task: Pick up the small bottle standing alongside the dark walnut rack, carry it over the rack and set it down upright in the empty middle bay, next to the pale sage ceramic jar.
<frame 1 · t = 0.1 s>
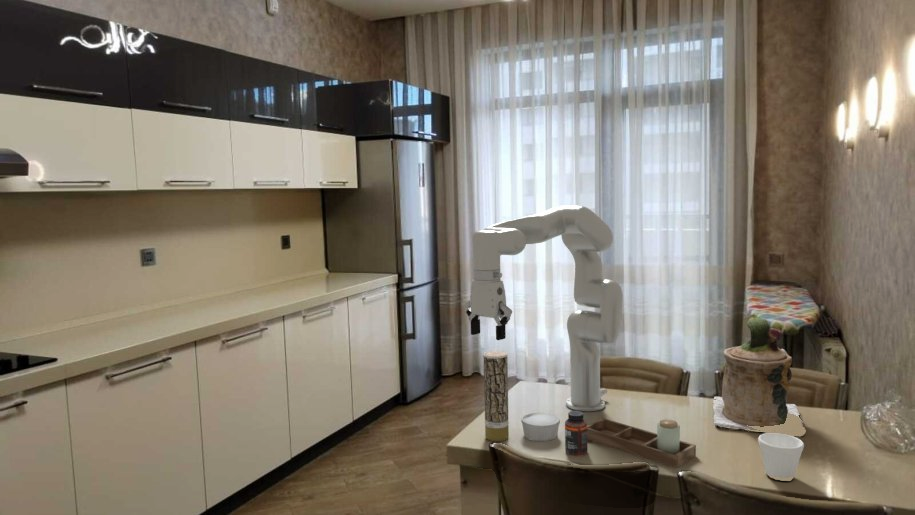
hand: (488, 336, 177), 31 cm above the table, tool pointing down, fingers open, 9 cm apart
supplement bottle: (576, 454, 174), on the table
rack: (637, 448, 176), on the table
sage jar: (668, 456, 169), point 1 cm above the table, touching rack
bark-patterned cylinder: (497, 438, 186), on the table
ramekin: (540, 436, 187), on the table
cup: (779, 477, 157), on the table
cookie jar: (756, 420, 195), on the table
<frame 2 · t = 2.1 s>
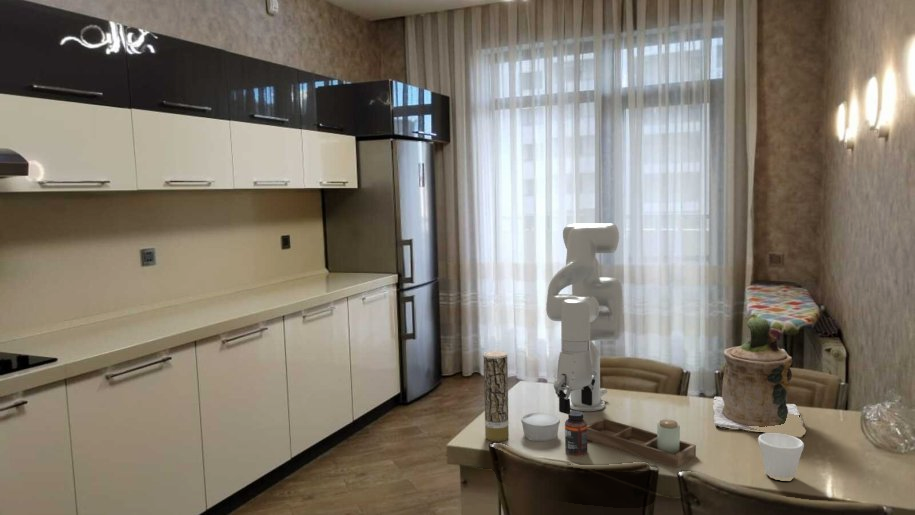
hand: (575, 408, 172), 13 cm above the table, tool pointing down, fingers open, 9 cm apart
nothing on the table moved.
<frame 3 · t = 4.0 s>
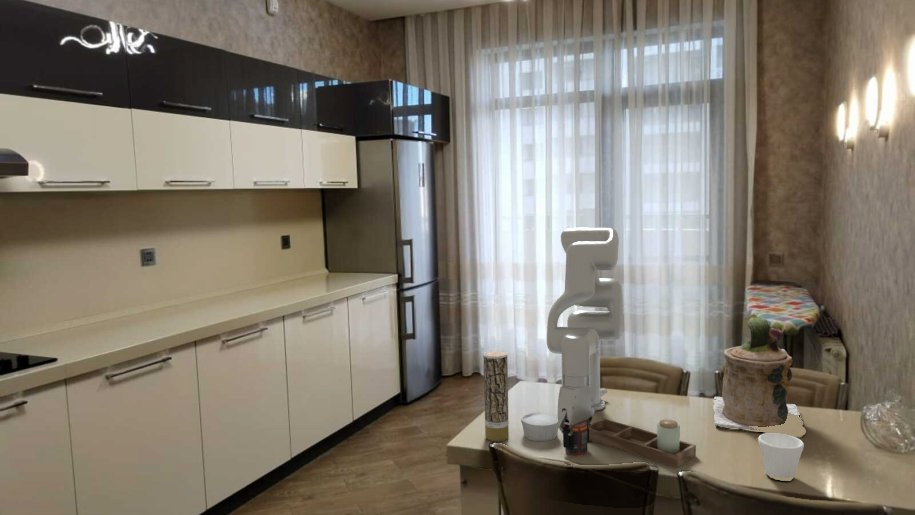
hand: (576, 444, 173), 3 cm above the table, tool pointing down, fingers closed on supplement bottle, 6 cm apart
supplement bottle: (576, 454, 174), on the table, touching gripper
everything else where it was.
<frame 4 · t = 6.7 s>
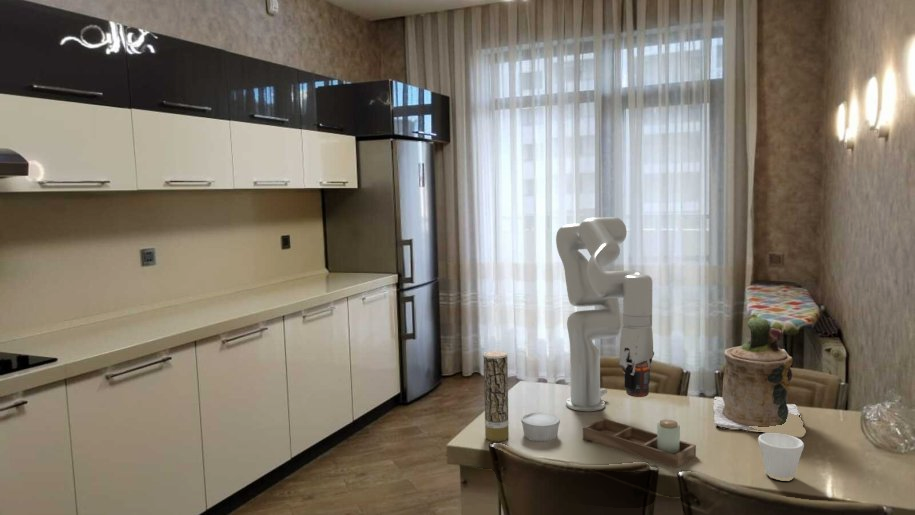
hand: (637, 385, 174), 18 cm above the table, tool pointing down, fingers closed on supplement bottle, 6 cm apart
supplement bottle: (637, 395, 174), point 15 cm above the table, touching gripper
everything else where it was.
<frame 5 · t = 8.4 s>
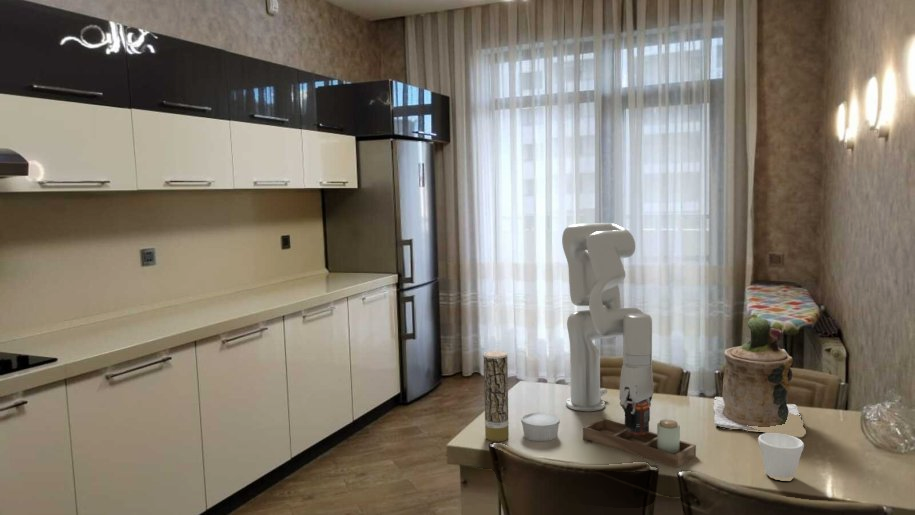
hand: (637, 423, 175), 7 cm above the table, tool pointing down, fingers closed on supplement bottle, 6 cm apart
supplement bottle: (637, 433, 175), point 4 cm above the table, touching gripper
everything else where it was.
when the fingers open (4 cm above the table, at t = 9.9 s): supplement bottle stays where it is, resting on rack.
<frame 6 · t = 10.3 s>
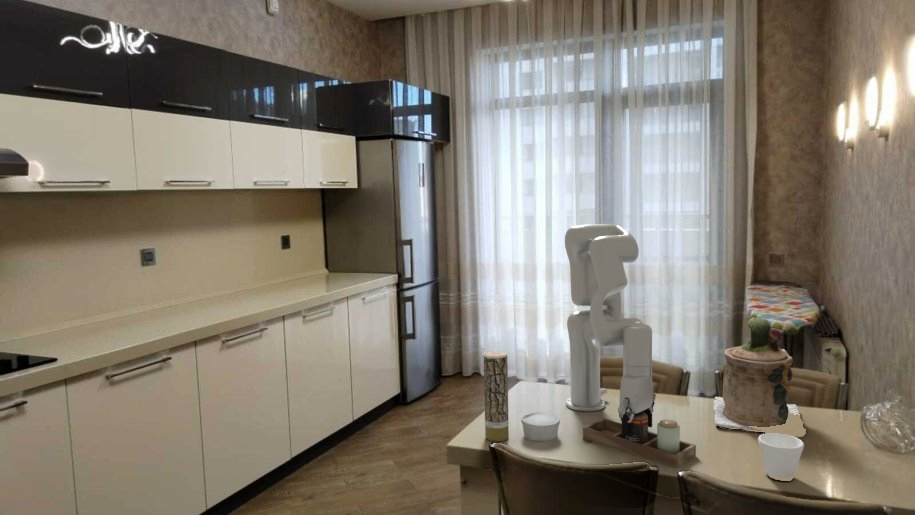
hand: (637, 430, 175), 5 cm above the table, tool pointing down, fingers open, 9 cm apart
supplement bottle: (636, 446, 176), resting on rack
everything else where it was.
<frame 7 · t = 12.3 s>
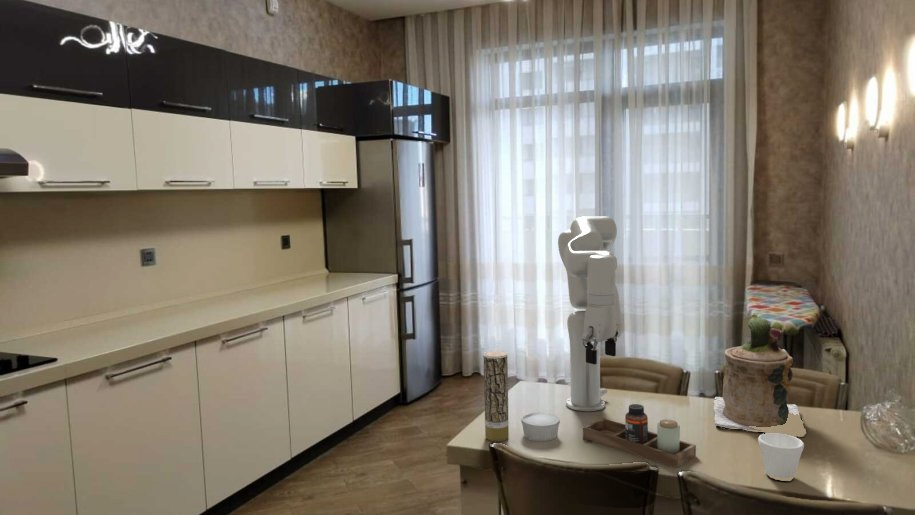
hand: (600, 359, 179), 24 cm above the table, tool pointing down, fingers open, 9 cm apart
nothing on the table moved.
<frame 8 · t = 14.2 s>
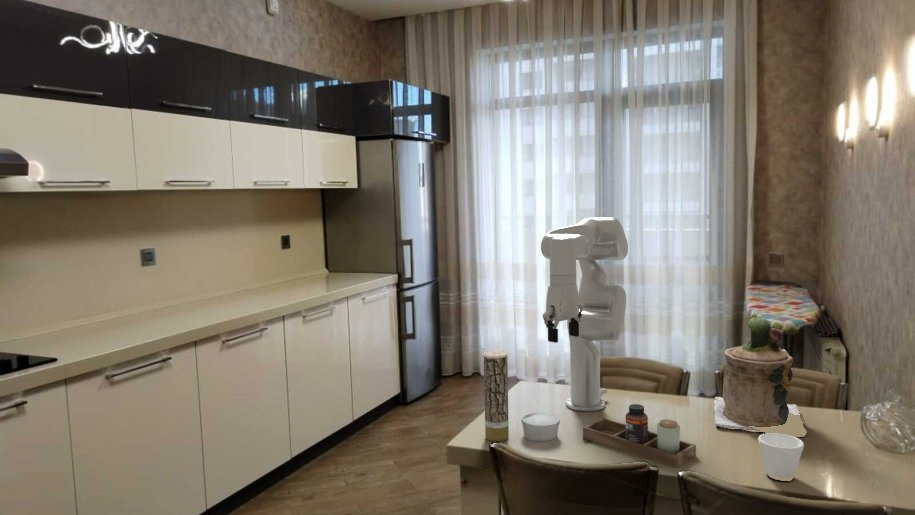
hand: (563, 338, 185), 28 cm above the table, tool pointing down, fingers open, 9 cm apart
nothing on the table moved.
at the end: supplement bottle inside the target area on the rack (0.1 cm from its centre), point 0.4 cm above the rack's base; supplement bottle tilted 0°; the gripper is holding nothing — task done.
